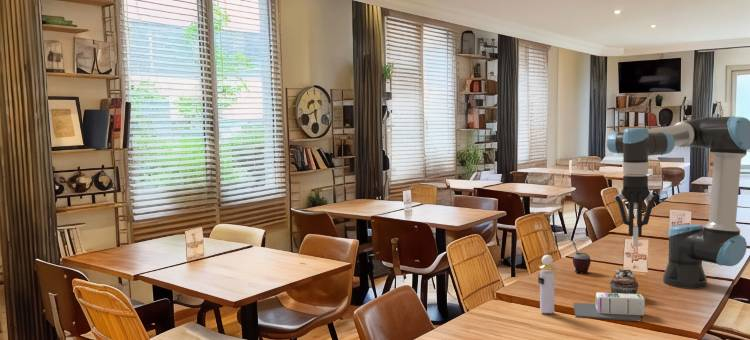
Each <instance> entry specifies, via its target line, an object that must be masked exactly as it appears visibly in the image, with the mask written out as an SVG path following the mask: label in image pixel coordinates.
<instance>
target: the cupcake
mask: <svg viewBox="0 0 750 340" xmlns="http://www.w3.org/2000/svg"><path fill="white" fill-rule="evenodd" d="M609 286H610V293H627V294H638V289H639V282H638V281H637V279H636V275H635V274H634V273H633V271H632V270H631V269H616V270H615V274H614V275H613V276H612V278H611V281H610V283H609Z"/></svg>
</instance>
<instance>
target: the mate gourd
mask: <svg viewBox="0 0 750 340" xmlns="http://www.w3.org/2000/svg"><path fill="white" fill-rule="evenodd" d="M567 239H568V240H569V241H571V243H572V244H573V247H574V249H575V254H574V255H573V257H572V263H573V267H574V269H575V270H574V272H575V274H576V275H579V274H584V275H588V274H589V272H588V271H589V268H590V266H591V257H590V255H589V254H588V253H586V252H579V251H578V249H577V246H576V243H575V242H576V241H575V242H574V240H573V239H571V238H569V237H567Z"/></svg>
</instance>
